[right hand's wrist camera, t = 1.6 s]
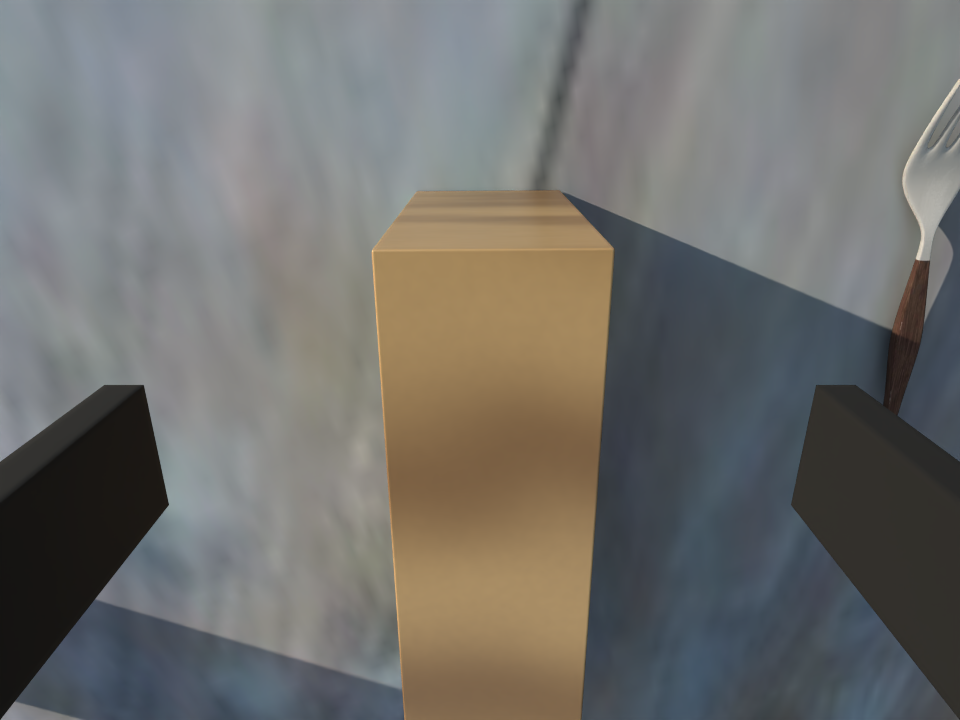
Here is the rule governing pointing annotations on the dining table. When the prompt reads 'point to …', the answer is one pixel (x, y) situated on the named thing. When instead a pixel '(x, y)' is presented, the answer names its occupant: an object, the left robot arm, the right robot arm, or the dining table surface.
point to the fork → (922, 243)
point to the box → (492, 446)
